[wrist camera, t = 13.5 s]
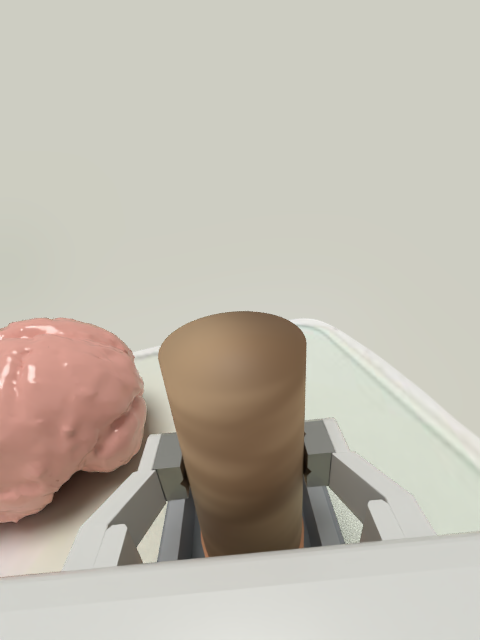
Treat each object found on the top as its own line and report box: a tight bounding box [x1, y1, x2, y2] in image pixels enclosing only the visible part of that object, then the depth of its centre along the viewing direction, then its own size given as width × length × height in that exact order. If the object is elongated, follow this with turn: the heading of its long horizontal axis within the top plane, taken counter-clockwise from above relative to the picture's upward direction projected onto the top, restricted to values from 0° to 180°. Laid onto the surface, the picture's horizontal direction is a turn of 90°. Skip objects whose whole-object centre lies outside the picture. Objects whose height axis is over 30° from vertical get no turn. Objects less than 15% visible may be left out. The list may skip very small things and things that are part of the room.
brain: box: [0, 318, 147, 523], centre depth 20 cm, size 16×13×12 cm
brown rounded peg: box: [158, 311, 306, 558], centre depth 11 cm, size 5×5×11 cm
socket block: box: [157, 475, 345, 562], centre depth 14 cm, size 10×10×4 cm
